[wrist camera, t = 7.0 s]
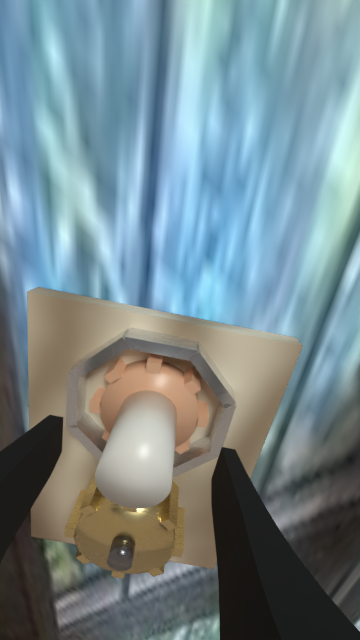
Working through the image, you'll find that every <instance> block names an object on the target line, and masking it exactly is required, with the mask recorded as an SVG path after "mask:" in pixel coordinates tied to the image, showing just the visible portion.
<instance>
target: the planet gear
mask: <svg viewBox="0 0 360 640" xmlns="http://www.w3.org/2000/svg"><path fill="white" fill-rule="evenodd" d="M103 377H104V378H105V379H106V380H107V381H108V382H109V383H108V385H107V387H106V389H105V388H97V390H96V392H95V393H94V395H93V397H92V399H91V400H90V412H93V413H100V417H101V420H102V423H103V425H104V427H105V431H104V433H103V435H102V438H103V439H104V440H105V441H106V442H107V443H106V446H105V448H104V451H103V453H102V456H101V458H100V461H99V463H98V466H97V468H96V471H95V483H96V486H97V488H98V489H99V491H100V492H101V493H102V495H103V496H105V497H106V498H107V499H108V500H110V501H111V502H113V503H115V504H117V505H120V506H123V507H127V508H135V509H141V508H148V507H152V506H155V505H157V504H159V503H161V502H162V501H163V500H164V499H165V498H166V497H167V496H168V495H169V493H170V491H171V486H172V474H173V462H174V450H176V451H177V452H178V453H179V454H182V453H184V452H185V451H187V450H189V449H190V437H191V436H192V434H193V433H194V431H195V429H196V427H204V428H207V423H208V418H209V415H208V402H201V401H198V394H197V392H198V391H200V390H201V386H200V376H199V375H198V373H197V372H196V371H195V370H194V369H193V368H191V369H189V370H187V371H186V372H183V371H182V370H181V369H179V368H178V367H176V366H174V365H172V364H170V363H167V362H164V361H163V356H162V355H157V354H152V353H150V354H149V357H148V359H146V360H138V361H134V362H131V363H129V364H127V365H126V364H125V362H124V361H123V360H122V359H121V358H119V359H117V360H116V361H115V362H113V363H112V364H110V366H109V368H108V369H107V371H106V373H105V375H104V376H103Z"/></svg>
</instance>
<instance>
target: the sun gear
mask: <svg viewBox="0 0 360 640" xmlns="http://www.w3.org/2000/svg"><path fill="white" fill-rule="evenodd" d="M178 496H179V487H178V486H177V485H176V484H175V483H174V481H173V480H172V486H171V491H170V493H169V495H168V496H167V497H166V498H165V499H164V500H163V501H162V502H161V503H159V504H157V505H155V506H152V507H148V508H141V509H135V508H127V507H123V506H120V505H117V504H115V503H113V502H111V501H110V500H108V499H107V498H106V497H105V496H103V495H102V493H101V492H100V491H99V489H98V488H97V486H96V483H95V472H94V474H93V477H92V479H91V482H90V484H89V487H88V489H87V490H82V489H81V491H80V494H79V496H78V498H77V501H76V503H75V506H74V508H73V510H72V513H71V515H70V517H69V520H68V522H67V525H66V527H65V536H64V537H68V538H74V541H75V544H76V546H77V548H78V552H77V555H76V558H77V559H78V560H79V561H80V562H82V563H83V564H86V563H89V562H92V563H94V564H95V565H97V566H99V567H102V568H104V569H107V570H110V571H112V577H118V578H124V574H125V573H128V574H137V573H145V572H149V573H150V574H151V575H152V576H153V577H154V576H157V575H160V574H162V573H164V564H165V563H167V561H168V560H169V559H170V558H171V556H175V557H181V556H182V553H183V550H184V522H185V508H181V507H178Z"/></svg>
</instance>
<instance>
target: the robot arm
mask: <svg viewBox="0 0 360 640" xmlns="http://www.w3.org/2000/svg"><path fill="white" fill-rule="evenodd" d="M62 439H63V417H60V416H54V415H49V416H47V417H46V418H44V419H43V420H42V421H40V422H39V423H38V424H37V425H35V426H34V427H33V428H31V429H30V430H29V431H28V432H26V433H25V434H24V435H22V436H21V437H20V438H18V439H17V440H15V441H14V442H13V443H11V444H10V445H9V446H7V447H6V448H4V449H3V450H2V451H0V562H1V560H2V558H3V556H4V555H5V553H6V551H7V549H8V547H9V545H10V543H11V541H12V539H13V538H14V536H15V534H16V532H17V531H18V529H19V527H20V526H21V524H22V522H23V521H24V519H25V517H26V516H27V514H28V512H29V511H30V509H31V508H32V506H33V504H34V503H35V501H36V499H37V498H38V496H39V494H40V493H41V491H42V489H43V488H44V486H45V484H46V483H47V481H48V479H49V478H50V476H51V474H52V472H53V470H54V468H55V466H56V464H57V461H58V459H59V457H60V455H61V453H62ZM211 506H212V517H213V527H214V536H215V546H216V556H217V565H218V578H219V607H220V640H360V632H359V630H358V629H357V628H356V627H355V626H354V625H353V624H352V623H351V622H350V621H349V620H348V618H347V617H346V616H345V615H344V614H343V613H342V611H341V610H340V609H339V608H338V607H337V606H336V604H335V603H334V602H333V601H332V600H331V599H330V597H329V596H328V595H327V594H326V593H325V591H324V590H323V589H322V587H321V586H320V585H319V584H318V582H317V581H316V580H315V579H314V577H313V576H312V575H311V573H310V572H309V571H308V570H307V568H306V567H305V566H304V564H303V563H302V562H301V560H300V559H299V558H298V556H297V555H296V553H295V552H294V551H293V549H292V548H291V546H290V545H289V543H288V542H287V541H286V539H285V538H284V536H283V535H282V533H281V532H280V530H279V528H278V527H277V525H276V524H275V522H274V520H273V519H272V517H271V516H270V514H269V512H268V511H267V509H266V507H265V505H264V504H263V502H262V500H261V498H260V497H259V495H258V493H257V491H256V489H255V487H254V486H253V484H252V482H251V480H250V478H249V476H248V474H247V472H246V470H245V468H244V466H243V464H242V462H241V460H240V458H239V456H238V453H237V451H236V450H235V449H231V448H225V447H222V448H221V451H220V454H219V457H218V460H217V463H216V466H215V469H214V472H213V475H212V479H211Z"/></svg>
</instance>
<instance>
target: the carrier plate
mask: <svg viewBox="0 0 360 640" xmlns="http://www.w3.org/2000/svg"><path fill="white" fill-rule="evenodd" d="M27 313H28V372H29V430H30V429H31V428H33V427H34V426H35V425H37V424H38V423H39V422H40V421H42V420H43V419H44V418H46V417H47V416H49V415H54V416H60V417H63V439H62V453H61V455H60V457H59V459H58V461H57V464H56V466H55V468H54V470H53V472H52V474H51V476H50V478H49V479H48V481H47V483H46V484H45V486H44V488H43V489H42V491H41V493H40V494H39V496H38V498H37V499H36V501H35V503H34V504H33V506H32V508H31V537H37V538H43V539H48V540H54V541H59V542H65V543H71V544H75V541H74V538H68V537H64V536H65V527H66V525H67V522H68V520H69V517H70V515H71V513H72V510H73V508H74V506H75V503H76V501H77V498H78V496H79V494H80V491H81V489H82V490H87V489H88V487H89V484H90V482H91V479H92V477H93V474H94V472H95V471H96V468H97V466H98V463H99V461H98V460H97V459H96V458H95V457H94V456H93V455H92V454H91V453H90V452H89V451H88V450H87V449H86V448H85V447H84V446H83V445H82V444H81V443H80V442H79V441H78V440H77V439H76V438H75V437H74V436H73V435H72V434H71V433H70V432H69V431H68V430H67V429H66V428H67V427H66V426H65V424H66V402H67V380H68V373H69V371H70V370H71V368H72V367H73V366H74V365H75V364H76V362H77V361H78V360H79V359H80V358H82V357H84V356H85V355H87V354H88V353H90V352H91V351H93V350H94V349H96V348H97V347H99V346H101V345H102V344H104V343H105V342H107V341H108V340H110V339H111V338H113V337H114V336H116V335H118V334H119V333H121V332H122V331H124V330H125V329H127V328H129V329H130V328H131V327H133V328H138V329H143V330H148V331H154V332H159V333H164V334H169V335H174V336H179V337H184V338H189V339H195V340H197V342H200V344H201V345H202V346H203V348H204V349H205V351H206V352H207V353H208V355H209V356H210V358H211V359H212V360H213V362H214V363H215V365H216V366H217V368H218V369H219V370H220V372H221V373H222V375H223V376H224V377H225V379H226V380H227V382H228V383H229V384H230V386H231V387H232V389H233V392H234V396H235V401H236V409H235V412H234V415H233V418H232V421H231V424H230V427H229V430H228V433H227V436H226V439H225V442H224V445H223V447H225V448H231V449H235V450H236V451H237V453H238V456H239V458H240V460H241V462H242V464H243V466H244V468H245V470H246V472H247V474H248V476H249V478H250V477H251V475H252V472H253V470H254V467H255V465H256V462H257V460H258V457H259V455H260V452H261V450H262V447H263V445H264V442H265V440H266V437H267V435H268V432H269V430H270V427H271V425H272V422H273V420H274V417H275V415H276V412H277V410H278V407H279V405H280V402H281V400H282V397H283V395H284V392H285V390H286V387H287V385H288V382H289V380H290V377H291V374H292V372H293V369H294V367H295V364H296V362H297V359H298V357H299V354H300V352H301V349H302V347H303V345H302V344H301V343H300V342H299V341H298V340H297V339H296V338H295V337H290V336H284V335H279V334H274V333H269V332H264V331H259V330H254V329H249V328H244V327H239V326H234V325H229V324H224V323H218V322H213V321H208V320H203V319H198V318H193V317H188V316H183V315H178V314H173V313H168V312H163V311H158V310H152V309H147V308H142V307H137V306H132V305H127V304H122V303H117V302H112V301H107V300H102V299H97V298H92V297H86V296H81V295H76V294H71V293H66V292H61V291H56V290H51V289H46V288H41V287H37V288H35V289H32V290H30V291H28V292H27ZM149 354H150V353H147V352H142V351H136V350H131V349H126V350H124V351H123V352H121V353H120V354H118V355H116V356H115V357H113V358H112V359H110V360H108V361H107V362H105V363H104V364H102V365H100V366H99V367H97V368H96V369H94V370H92V371H91V372H89V373H88V379H87V392H86V405H85V412H86V413H87V414H88V415H89V416H90V417H91V418H92V419H93V420H94V421H95V422H96V423H97V424H98V425H99V426H100V427H101V429H102V430H103V431H105V427H104V425H103V423H102V420H101V417H100V413H93V412H90V400H91V399H92V397H93V395H94V393H95V392H96V390H97V388H105V389H106V387H107V385H108V383H109V382H108V381H107V380H106V379H105V378H104V377H103V376H104V375H105V373H106V371H107V369H108V368H109V366H110V364H112V363H113V362H115V361H116V360H117V359H119V358H121V359H122V360H123V361H124V362H125V364H126V365H127V364H129V363H131V362H134V361H138V360H146V359H148V357H149ZM163 361H164V362H167V363H170V364H172V365H174V366H176V367H178V368H179V369H181V370H182V371H183V372H186V371H187V370H189V369H191V368H193V369H194V370H195V371H196V372H197V373H198V375H199V376H200V386H201V390H200V391H198V392H197V394H198V401H201V402H208V415H209V418H208V423H207V428H204V427H196V429H195V431H194V433H193V434H192V436H191V437H190V443H192V442H194V441H196V440H199V439H201V438H203V437H205V436H207V435H209V433H210V430H211V426H212V423H213V419H214V416H215V413H216V409H217V406H218V402H219V399H218V397H217V396H216V395H215V393H214V392H213V390H212V389H211V388H210V386H209V385H208V384H207V382H206V381H205V380H204V378H203V377H202V376H201V374H200V373H199V372H198V370H197V369H196V367H195V366H194V365H193V363H192V362H191V361H188V360H183V359H178V358H173V357H167V356H163ZM174 451H176V450H174ZM218 456H219V455H218ZM217 460H218V457H217V458H215V459H213V460H211V461H209V462H206V463H204V464H202V465H200V466H198V467H195V468H193V469H191V470H189V471H187V472H184V473H182V474H180V475H178V476H176V477H173V478H172V480H173V481H174V483H175V484H176V485H177V486H178V487H179V496H178V507H181V508H185V522H184V550H183V553H182V556H181V557H175V556H171V558H170V559H169V560H168V561H172V562H178V563H184V564H189V565H195V566H200V567H206V568H212V569H214V568H215V565H216V563H217V556H216V546H215V536H214V527H213V517H212V506H211V479H212V475H213V472H214V469H215V466H216V463H217Z"/></svg>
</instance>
